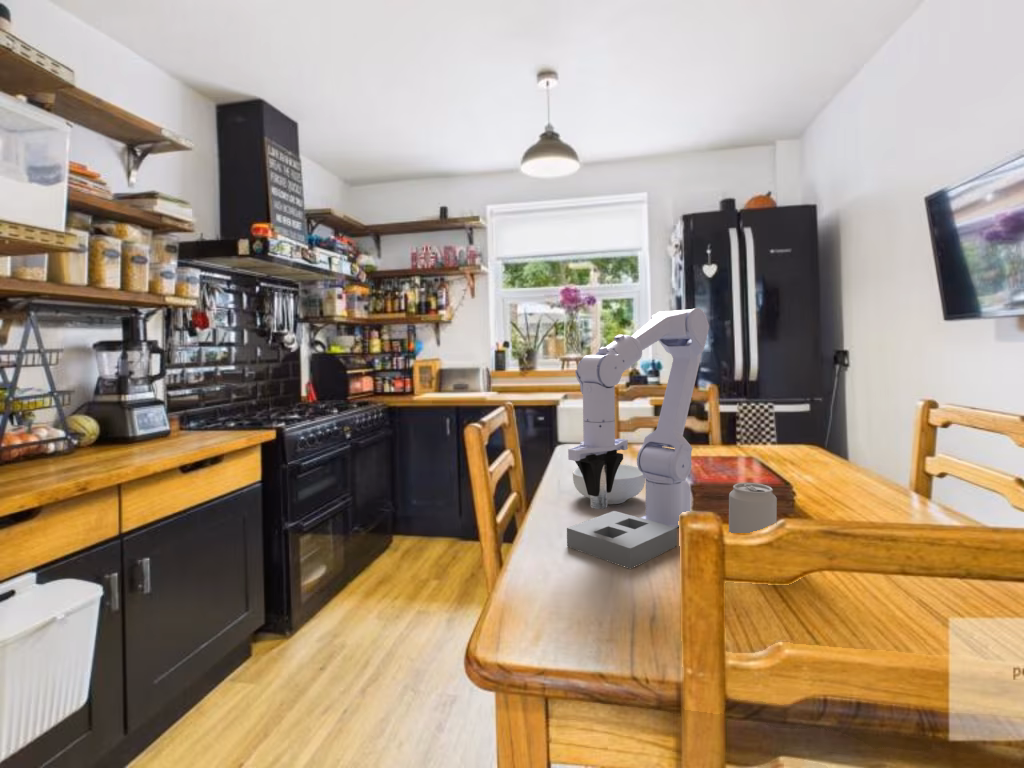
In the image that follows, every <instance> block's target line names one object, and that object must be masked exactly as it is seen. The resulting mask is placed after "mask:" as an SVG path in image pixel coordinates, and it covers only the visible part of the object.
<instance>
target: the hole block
mask: <svg viewBox="0 0 1024 768" xmlns="http://www.w3.org/2000/svg"><path fill="white" fill-rule="evenodd" d="M677 528H678V527H673V526H669V525H665V524H661V523H658V522H654V521H650V520H646V519H643V518H640V517H638V516H635V515H631V514H627V513H624V512H621V511H616V510H612V511H610V512H607V513H603V514H601V515H599V516H598V515H597V516H596V517H593V518H591V519H587V520H585V521H582V522H579V523H576V524H574V525H572V526H571V525H570V526H568V527H566V547H567V546H568V547H567V548H570V547H571V549H573V550H576V549H577V550H576V551H578V550H579V551H578V552H581V551H582V552H581V553H585V554H586V555H589V554H590V556H593V557H595V558H598V559H601V558H602V559H601V560H603V559H605V560H604V561H606V560H608V561H607V562H609V561H610V562H609V563H612V562H613V564H615V563H616V564H615V565H617V564H619V565H618V566H620V565H622V566H621V567H623V566H625V567H624V568H626V567H628V568H627V569H629V568H632V567H634V566H636V565H638V566H640V565H641V563H642V564H644V563H646V562H648V561H650V560H652V559H654V558H656V557H658V556H660V555H662V554H664V553H666V552H668V551H670V550H672V549H674V548H676V547H677V546H678V545H677V543H678V542H677V541H678V540H677V536H678V535H677V530H678V529H677ZM675 546H676V547H675ZM671 548H672V549H671ZM669 549H670V550H669ZM667 550H668V551H667ZM665 551H666V552H665ZM663 552H664V553H663ZM661 553H662V554H661ZM659 554H660V555H659ZM651 558H652V559H651ZM645 561H646V562H645ZM643 562H644V563H643ZM639 564H640V565H639ZM636 567H637V566H636ZM634 568H635V567H634ZM632 569H633V568H632Z"/></svg>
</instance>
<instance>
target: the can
mask: <svg viewBox="0 0 1024 768" xmlns="http://www.w3.org/2000/svg"><path fill="white" fill-rule="evenodd" d="M732 488H733V489H732V490H731V491H730V492H729V494H728V533H729V532H731V533H750V532H753V531H757V530H760V529H763V528H765V527H767V526H769V525H771V524H773V523H775V522H776V523H777V514H778V513H777V509H778V507H777V505H778V504H777V502H778V501H777V500H778V498H777V497H776V495H775V494H774V493H773V491H774V489H773V488H772V487H771V486H769V485H765V484H762V483H756V482H755V483H754V482H739V483H735V484H733V486H732Z"/></svg>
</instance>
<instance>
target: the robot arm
mask: <svg viewBox="0 0 1024 768" xmlns="http://www.w3.org/2000/svg"><path fill="white" fill-rule="evenodd" d="M709 329H710V323H709V322H708V318H707V316H706V314H705V311H704V310H702V309H701V308H699V307H695V308H691V309H677V310H660V311H658V312H656V313H655V314H653V315H651V316H650V320H649V321H648V322H646V323H645V324H644V325H642V327H641V328H639V329H638V330H637V331H636V332H634V333H633V334H632V335H628V334H617V335H616V336H614V339H613V341H612V342H610V343H609V344H607V345H606V346H601V347H600V348H598V351H597V352H596V353H595V354H588V355H584V356H583V357H582V358H581V360H580V361H579V362H578V365H577V369H576V370H575V377H576V380H577V381H578V383H579V385H580V386H579V387H580V389H579V390H580V393H581V395H582V425H583V426H582V428H583V430H582V432H583V441H580V442H579V444H578V445H576V446H574V447H571V448H568V449H567V453H568V455H567V457H568V460H569V461H574V462H575V464H576V465H577V468H578V467H579V469H580V471H581V473H582V476H583V478H584V481H585V485H586V489H587V493H588V495H591V496H595V497H597V496H599V492H600V478H601V472H602V469H603V466H604V463H606V466H607V492H608V493H610V492H611V490H612V486H613V482H614V478H615V475H616V472H617V469H618V467H619V465H620V464H621V463H622V462H623V460H624V454H623V453H621V452H618V451H621V450H622V451H627V450H628V448H629V447H628V445H629V444H628V443H629V442H628V441H629V440H628V439H625V438H616V432H615V431H616V421H615V420H616V417H615V416H616V415H615V413H616V407H615V400H616V399H615V398H616V397H615V394H616V393H615V389H616V388H615V387H616V385H618V384H619V383H620V382H621V379H622V375H623V373H625V371H626V370H628V369H630V367H632V366H633V365H635V364H636V363H637V362H638V361H640V359H642V357H643V351H644V350H645V349H647V348H649V347H651V346H653V344H655V343H657V342H658V343H659V344H660V345H661V346H662V347H663V349H664V351H665V352H666V353H668V354H670V355H671V357H672V363H671V368H670V371H669V375H668V380H667V385H666V389H665V392H664V397H663V400H662V404H661V409H660V413H659V418H658V422H657V426H656V429H655V430H654V431H652V432H651V433H649V434H647V435H646V436H645V437H644V441H643V443H642V446H641V447H640V448H639V450H638V452H637V456H636V467H638V469H639V470H640V472H642V473H643V478H645V515H643V516H641V517H639V518H643V519H646V520H650V521H654V522H658V523H661V524H665V525H669V526H673V527H676V528H678V527H680V526H679V525H678V521H679V515H680V514H681V513H682V512H686V511H690V512H691V487H690V484H689V482H688V480H686V479H687V478H688V476H689V475H690V473H691V471H692V452H693V446H691V444H690V443H689V442H688V440H687V439H686V438H685V437H684V431H685V427H686V423H687V420H688V414H689V410H690V405H691V402H692V397H693V393H694V389H695V384H696V380H697V376H698V372H699V367H700V362H701V359H702V358H701V357H702V353H704V352H705V346H706V344H707V343H706V342H707V339H708V334H709Z"/></svg>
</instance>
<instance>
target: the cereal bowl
mask: <svg viewBox="0 0 1024 768" xmlns="http://www.w3.org/2000/svg"><path fill="white" fill-rule="evenodd" d="M572 482H573V484H574V487H575V489H576V491H578V493H579V494H581V495H582V496H584V497H586V498H588V499H591V495H588V493H587V489H586V485H585V481H584V478H583V476H582V473H581V471H580V469H579V467H578V466H577V467H576V468H575V469H574V470H572ZM645 485H646V478H643V473H642V472H640V470H639V469H638V466H634V465H629V464H623V463H622V464H621V463H620V465H619V467H618V469H617V472H616V475H615V478H614V482H613V486H612V490H611V492H610V493H608V492H607V505H617V504H618V505H619V504H623V503H625V502H626V501H627V500H628V499H629V500H630V499H632V498H634V497H636V496H637V495H639V494H640V493H641V492H642V491H643V489H644V487H645Z"/></svg>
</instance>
